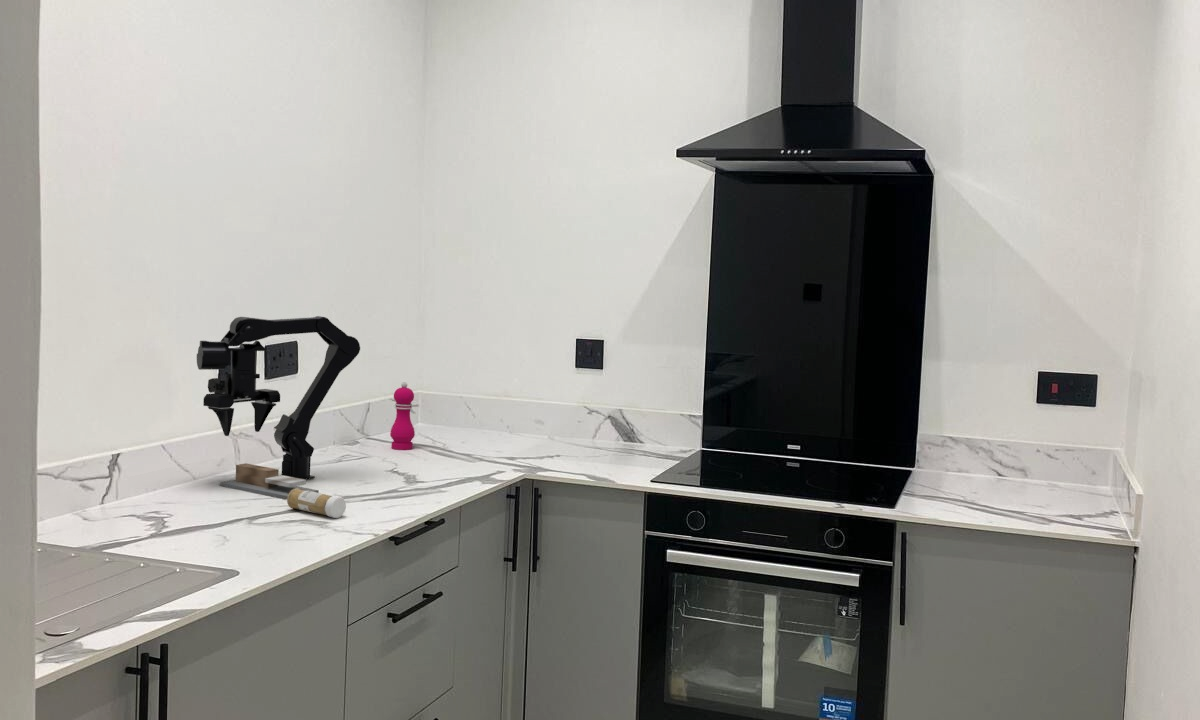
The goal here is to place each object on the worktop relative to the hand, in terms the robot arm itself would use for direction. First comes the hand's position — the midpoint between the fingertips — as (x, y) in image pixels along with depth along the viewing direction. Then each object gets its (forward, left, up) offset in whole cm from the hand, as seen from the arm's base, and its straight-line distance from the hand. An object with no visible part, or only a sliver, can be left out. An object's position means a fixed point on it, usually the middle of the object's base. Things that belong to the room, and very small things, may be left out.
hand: (242, 433), depth 238 cm
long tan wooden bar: (+1, +10, -11) cm, 15 cm away
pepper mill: (-64, -4, -12) cm, 65 cm away
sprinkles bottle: (+10, +28, -10) cm, 32 cm away
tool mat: (+1, +11, -12) cm, 16 cm away
